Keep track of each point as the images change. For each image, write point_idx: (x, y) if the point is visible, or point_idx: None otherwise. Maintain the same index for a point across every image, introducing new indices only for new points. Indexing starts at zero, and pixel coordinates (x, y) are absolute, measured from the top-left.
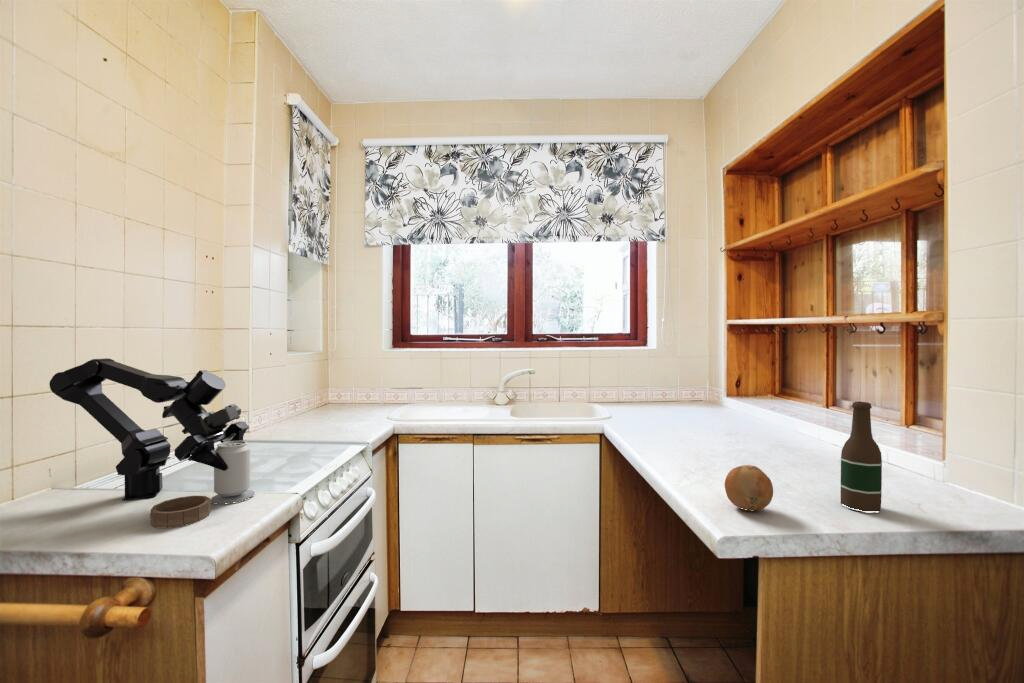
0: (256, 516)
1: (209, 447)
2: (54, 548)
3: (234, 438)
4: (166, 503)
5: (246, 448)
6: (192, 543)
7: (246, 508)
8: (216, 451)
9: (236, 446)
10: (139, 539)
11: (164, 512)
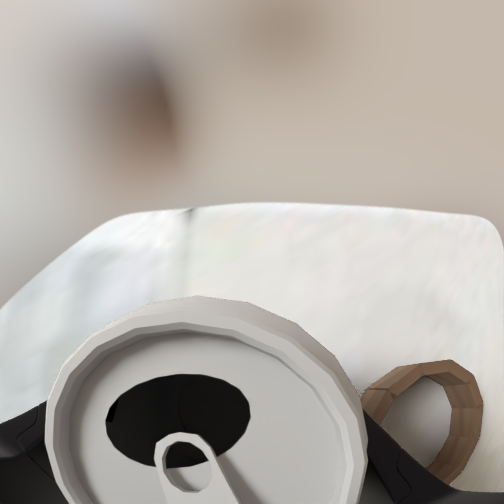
0: (377, 232)
1: (476, 493)
2: None
3: (10, 495)
4: None
5: (199, 305)
6: (492, 282)
7: (330, 293)
8: (390, 489)
9: (309, 354)
10: (494, 403)
11: (479, 417)
